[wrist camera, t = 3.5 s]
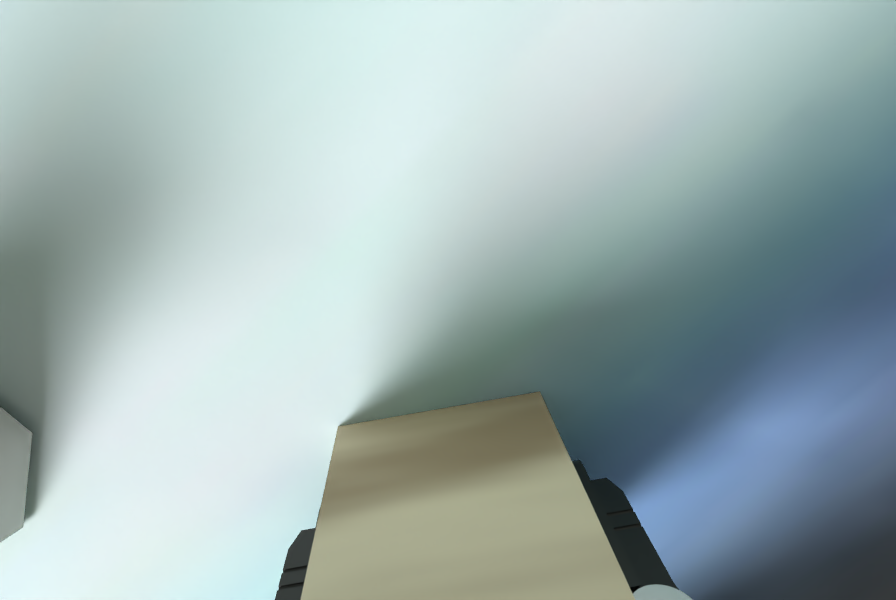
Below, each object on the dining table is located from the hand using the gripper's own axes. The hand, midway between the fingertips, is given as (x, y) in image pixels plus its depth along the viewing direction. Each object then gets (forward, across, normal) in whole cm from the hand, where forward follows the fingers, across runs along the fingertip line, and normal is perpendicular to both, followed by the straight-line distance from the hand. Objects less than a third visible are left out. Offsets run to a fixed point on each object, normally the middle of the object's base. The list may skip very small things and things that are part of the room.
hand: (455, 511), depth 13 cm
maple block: (+1, 0, 0) cm, 1 cm away
